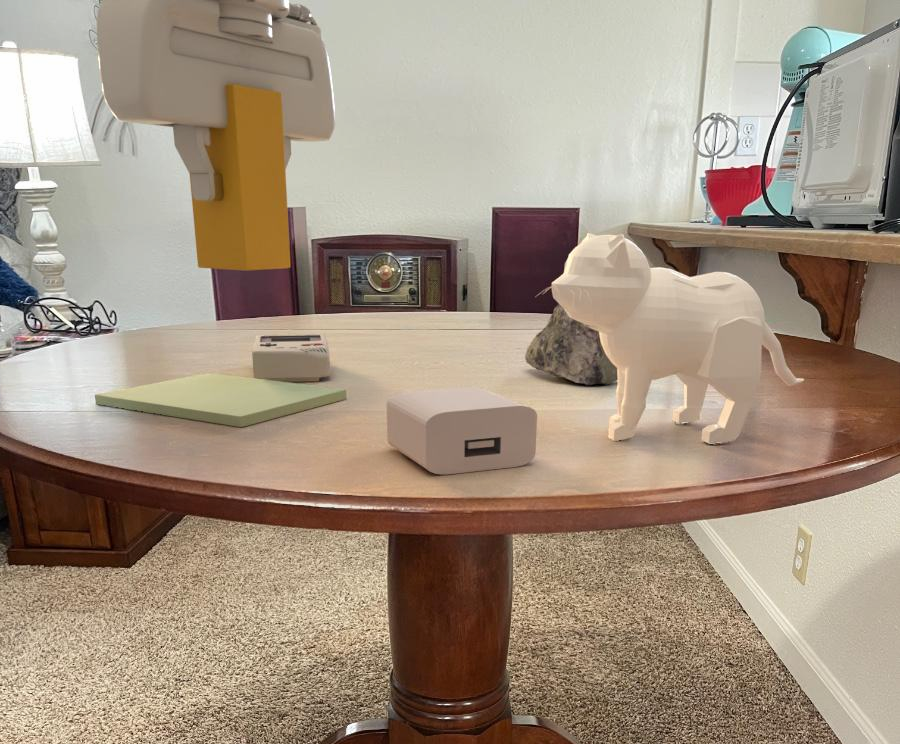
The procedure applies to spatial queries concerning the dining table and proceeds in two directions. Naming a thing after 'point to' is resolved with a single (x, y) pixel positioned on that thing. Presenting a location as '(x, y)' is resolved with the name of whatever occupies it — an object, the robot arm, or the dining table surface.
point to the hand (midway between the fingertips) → (239, 201)
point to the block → (246, 187)
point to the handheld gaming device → (291, 357)
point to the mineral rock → (571, 351)
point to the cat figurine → (669, 332)
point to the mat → (222, 398)
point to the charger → (461, 429)
